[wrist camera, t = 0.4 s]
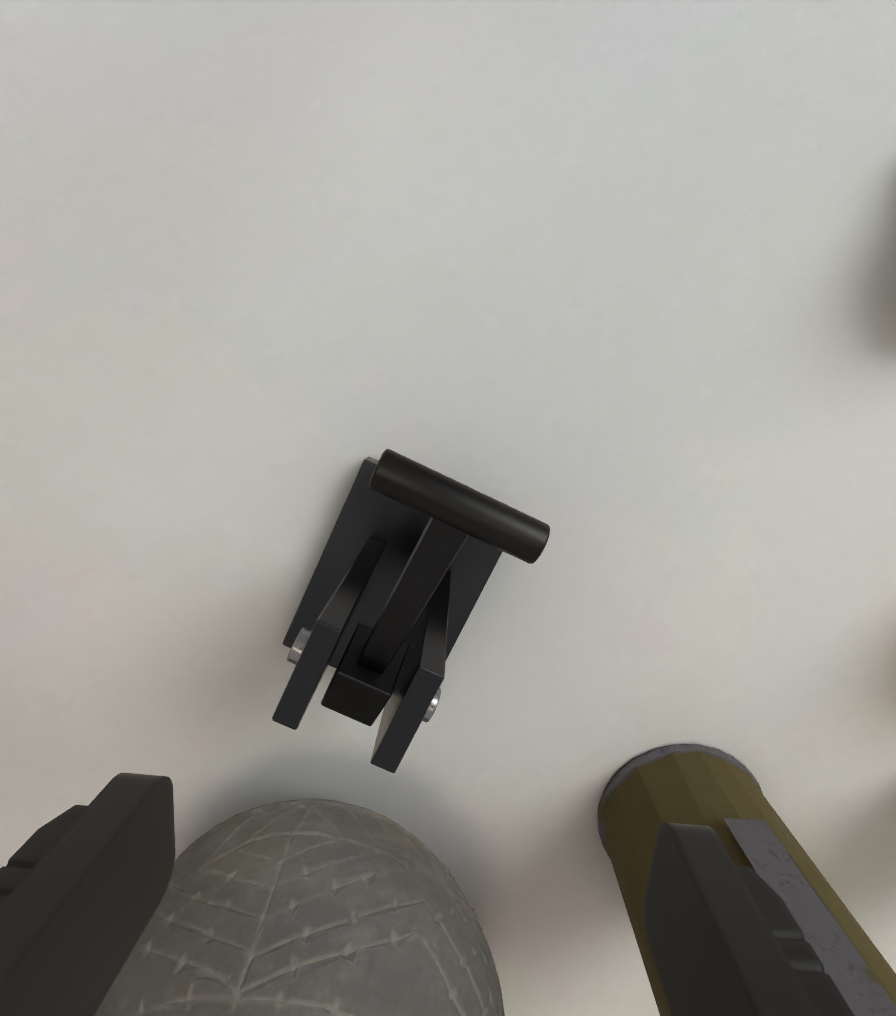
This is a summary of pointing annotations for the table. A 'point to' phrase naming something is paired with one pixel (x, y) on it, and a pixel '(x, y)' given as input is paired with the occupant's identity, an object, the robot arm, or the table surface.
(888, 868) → the table surface
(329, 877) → the bowl
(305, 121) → the table surface
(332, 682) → the lever
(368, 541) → the bracket
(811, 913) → the canister
